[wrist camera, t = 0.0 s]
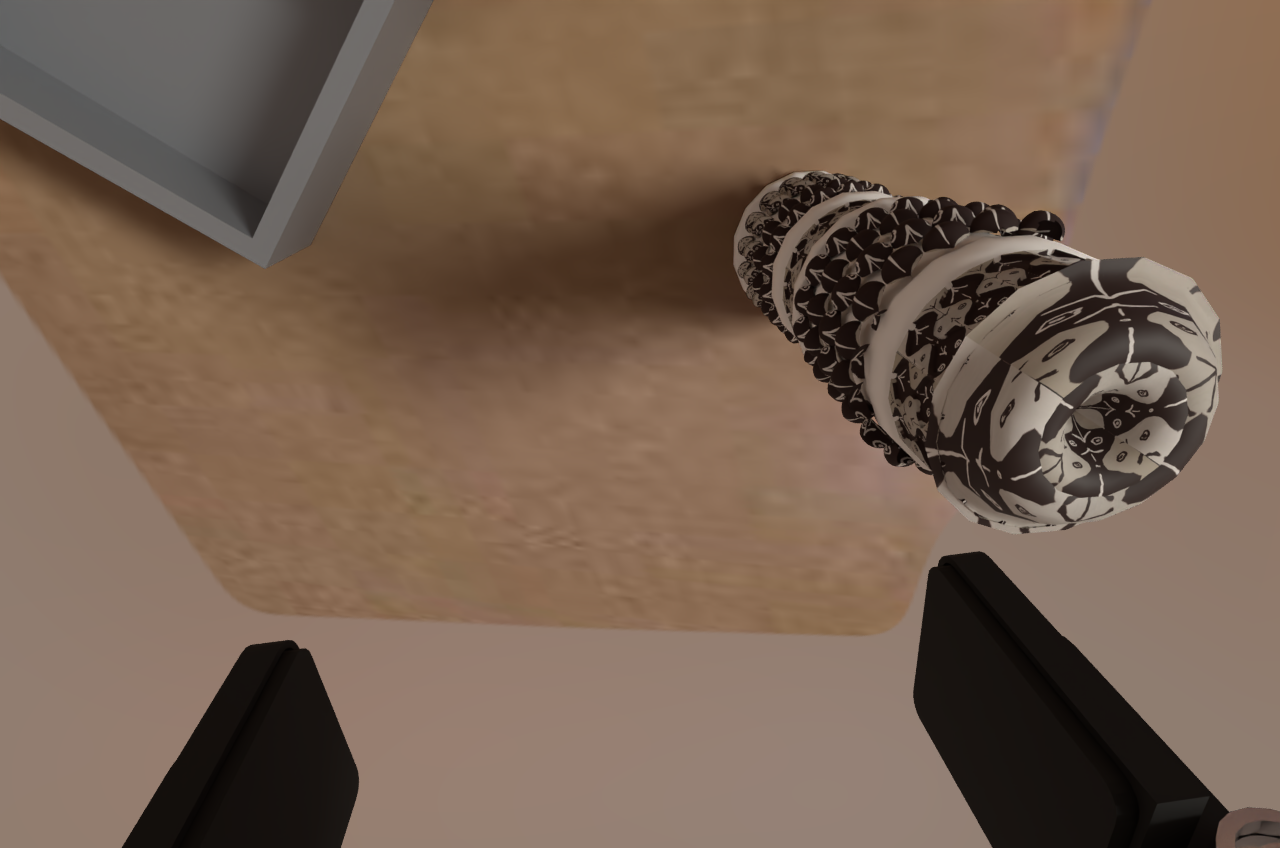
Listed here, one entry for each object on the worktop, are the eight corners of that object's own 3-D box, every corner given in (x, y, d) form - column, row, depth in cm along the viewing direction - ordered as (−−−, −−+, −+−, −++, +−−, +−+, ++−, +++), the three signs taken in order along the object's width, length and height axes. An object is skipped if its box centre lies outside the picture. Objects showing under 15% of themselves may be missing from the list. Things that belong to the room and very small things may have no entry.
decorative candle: (694, 275, 39) (856, 501, 17) (788, 128, 36) (1137, 165, 14) (814, 348, 42) (1092, 629, 19) (910, 218, 39) (1370, 370, 16)
